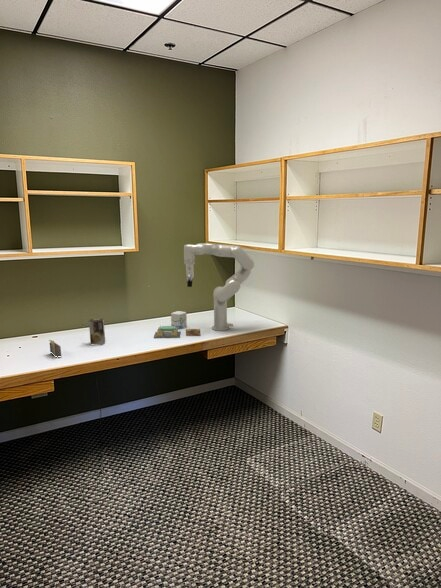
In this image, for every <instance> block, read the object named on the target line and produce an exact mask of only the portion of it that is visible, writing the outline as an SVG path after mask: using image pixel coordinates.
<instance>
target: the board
mask: <svg viewBox="0 0 441 588" xmlns="http://www.w3.org/2000/svg"><path fill="white" fill-rule="evenodd" d="M158 328H160V331H161V332H171V331H174V327H173V326H171V325H161V327H160V326H158ZM175 331H176V327H175Z"/></svg>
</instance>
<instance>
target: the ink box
mask: <svg viewBox="0 0 441 588" xmlns="http://www.w3.org/2000/svg"><path fill="white" fill-rule="evenodd" d="M187 320H188V319H187V312H186V311H181V310H178V311H177V310H176V311H173V312H171V313H170V326H173V327H174V325H175V327H176V328H178V330H181V329H182V330H183V329H185V328H186V329H187V328H188V327H187V326H188V323H187V322H188V321H187Z"/></svg>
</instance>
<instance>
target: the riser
mask: <svg viewBox="0 0 441 588" xmlns="http://www.w3.org/2000/svg"><path fill="white" fill-rule="evenodd" d="M185 336H186V337H191V336H192V337H201V328H186V329H185Z"/></svg>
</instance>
